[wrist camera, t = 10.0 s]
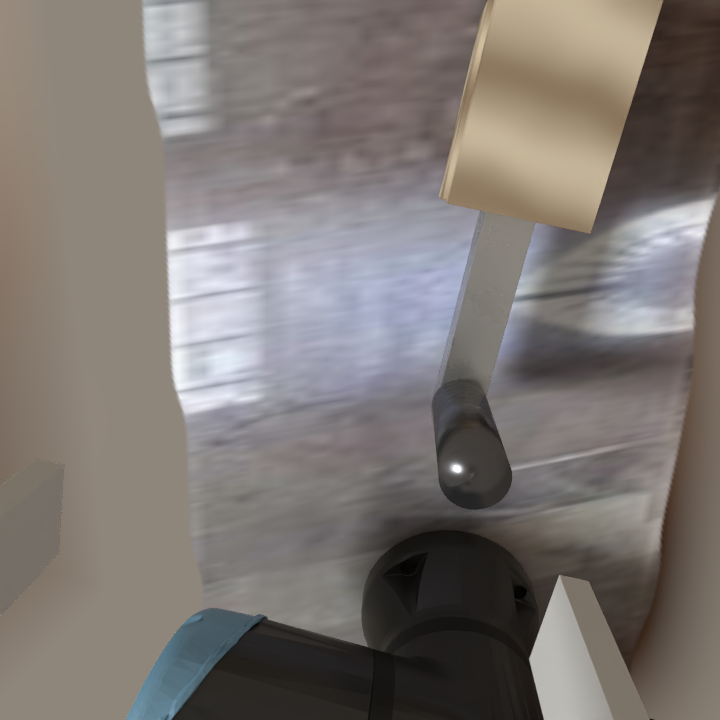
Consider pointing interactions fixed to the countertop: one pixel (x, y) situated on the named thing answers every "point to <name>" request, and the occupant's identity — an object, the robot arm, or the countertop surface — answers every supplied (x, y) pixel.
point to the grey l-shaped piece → (477, 365)
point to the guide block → (546, 107)
